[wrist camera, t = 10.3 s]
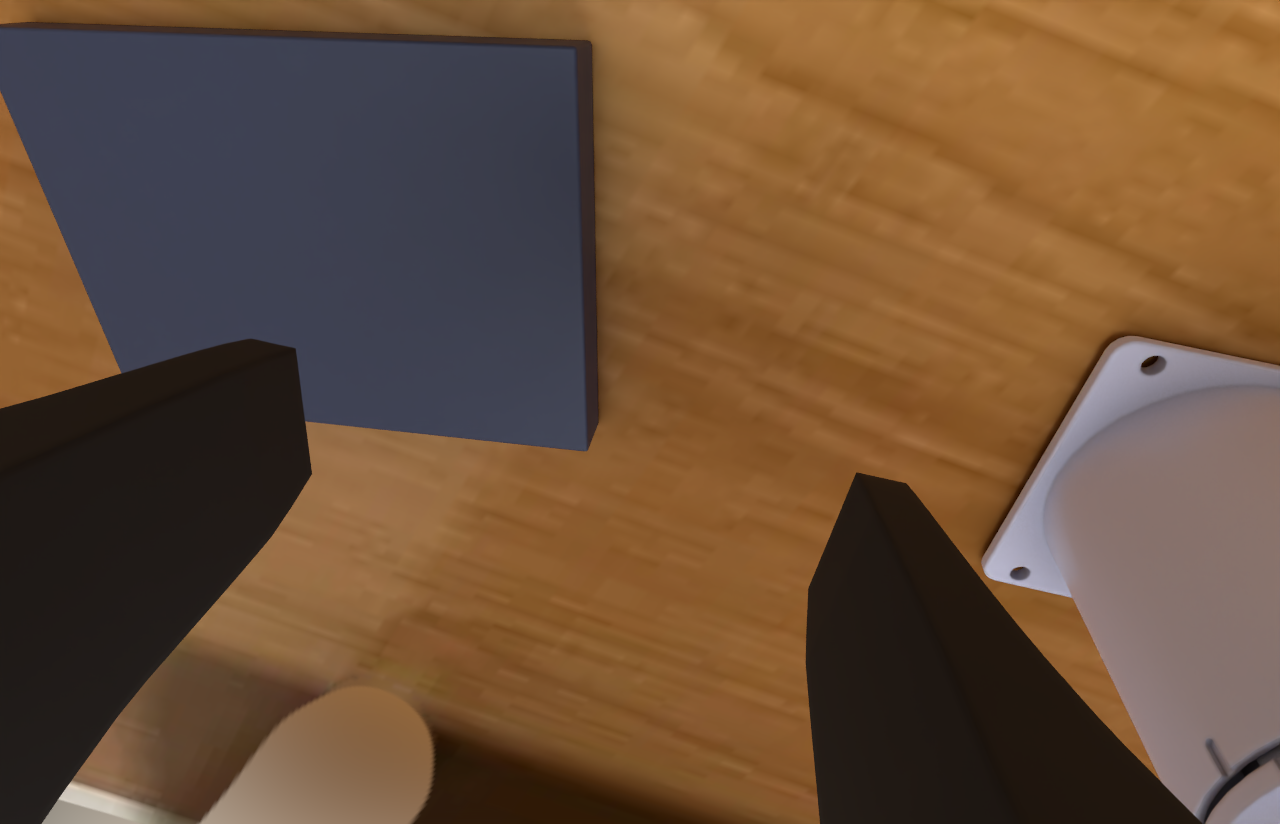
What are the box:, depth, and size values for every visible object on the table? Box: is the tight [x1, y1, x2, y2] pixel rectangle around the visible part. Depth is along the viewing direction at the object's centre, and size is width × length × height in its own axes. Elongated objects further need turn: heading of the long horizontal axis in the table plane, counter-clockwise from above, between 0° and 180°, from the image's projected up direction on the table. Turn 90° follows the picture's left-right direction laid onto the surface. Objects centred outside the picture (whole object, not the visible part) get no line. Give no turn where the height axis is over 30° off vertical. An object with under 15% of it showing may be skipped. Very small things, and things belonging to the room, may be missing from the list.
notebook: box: [0, 22, 598, 451], centre depth 18 cm, size 14×10×2 cm
